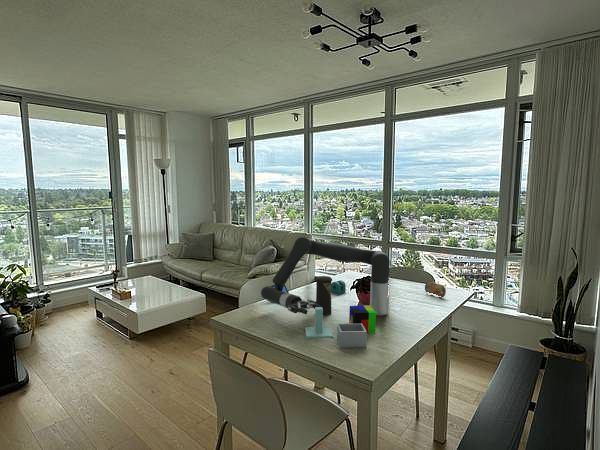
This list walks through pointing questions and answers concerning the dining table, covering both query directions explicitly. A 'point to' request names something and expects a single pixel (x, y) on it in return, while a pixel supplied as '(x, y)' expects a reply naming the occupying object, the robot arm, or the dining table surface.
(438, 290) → the wooden scrub brush
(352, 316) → the puzzle toy
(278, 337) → the dining table surface
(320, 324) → the lid
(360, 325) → the tub
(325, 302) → the container
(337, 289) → the teal rounded piece
